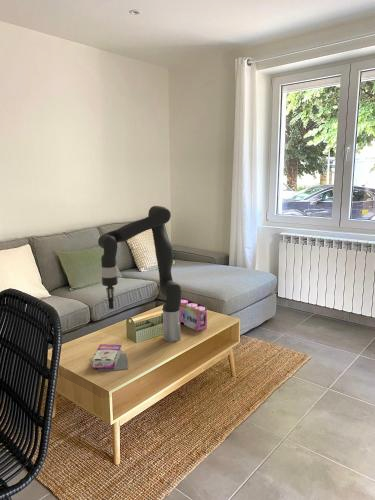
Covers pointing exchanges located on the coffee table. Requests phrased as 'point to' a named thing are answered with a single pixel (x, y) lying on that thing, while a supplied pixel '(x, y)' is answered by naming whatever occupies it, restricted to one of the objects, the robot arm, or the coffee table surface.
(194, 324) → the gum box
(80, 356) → the coffee table surface
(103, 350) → the candy bar box
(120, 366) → the mat
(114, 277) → the robot arm
